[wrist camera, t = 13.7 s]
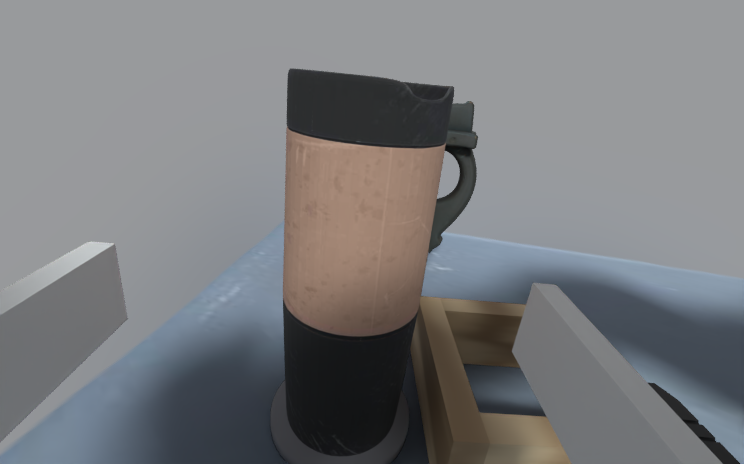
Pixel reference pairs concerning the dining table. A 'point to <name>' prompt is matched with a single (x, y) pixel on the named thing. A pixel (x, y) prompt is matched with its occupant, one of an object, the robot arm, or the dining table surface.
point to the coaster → (307, 460)
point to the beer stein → (461, 148)
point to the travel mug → (355, 248)
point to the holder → (454, 394)
